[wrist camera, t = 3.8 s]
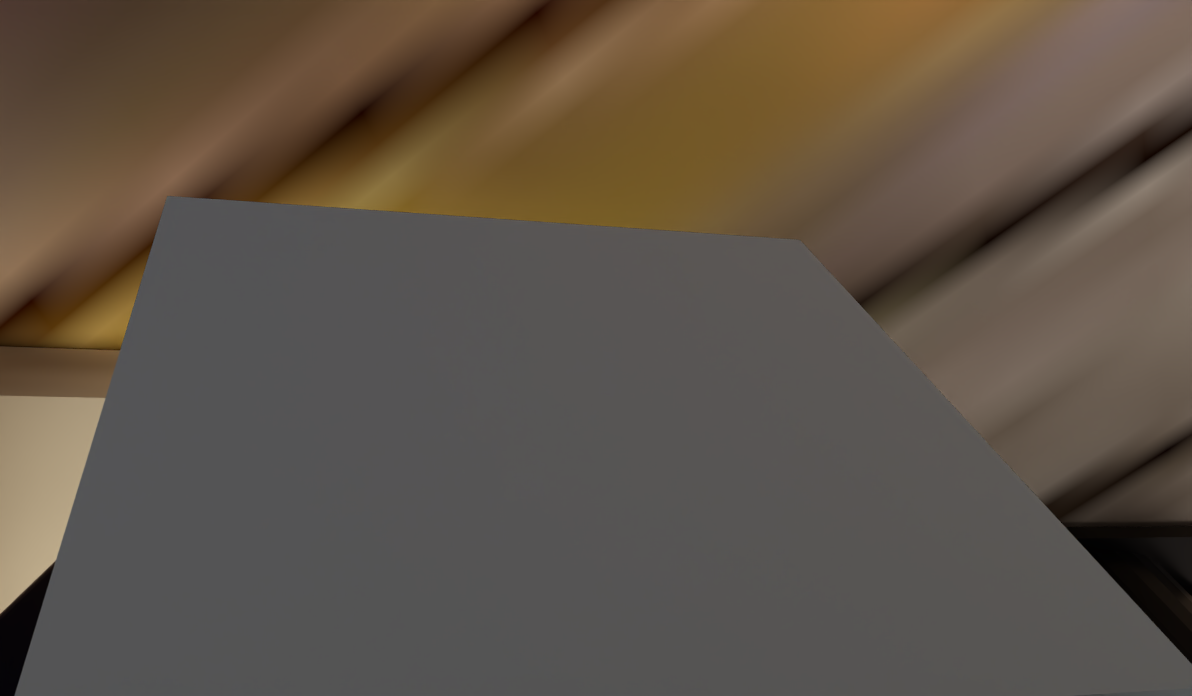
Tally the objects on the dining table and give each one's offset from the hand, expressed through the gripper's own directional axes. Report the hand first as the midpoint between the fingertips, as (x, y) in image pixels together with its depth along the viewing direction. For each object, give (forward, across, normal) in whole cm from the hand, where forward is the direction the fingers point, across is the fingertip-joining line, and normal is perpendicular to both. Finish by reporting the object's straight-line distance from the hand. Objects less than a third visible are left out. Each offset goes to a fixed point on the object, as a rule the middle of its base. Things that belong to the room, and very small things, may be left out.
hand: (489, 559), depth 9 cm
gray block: (+1, 0, 0) cm, 1 cm away
